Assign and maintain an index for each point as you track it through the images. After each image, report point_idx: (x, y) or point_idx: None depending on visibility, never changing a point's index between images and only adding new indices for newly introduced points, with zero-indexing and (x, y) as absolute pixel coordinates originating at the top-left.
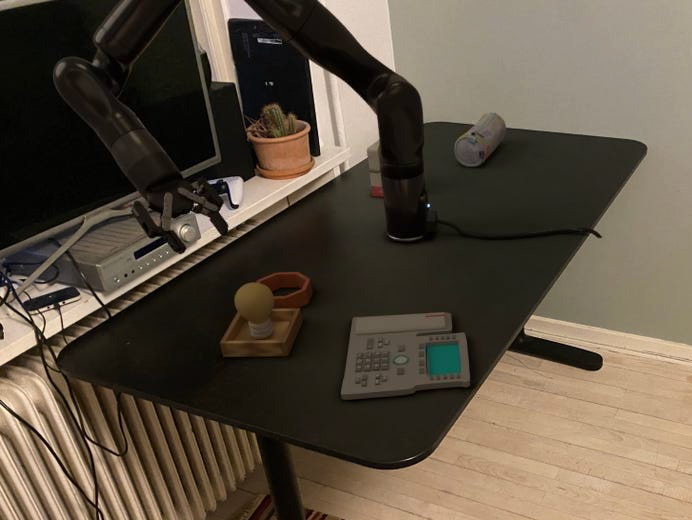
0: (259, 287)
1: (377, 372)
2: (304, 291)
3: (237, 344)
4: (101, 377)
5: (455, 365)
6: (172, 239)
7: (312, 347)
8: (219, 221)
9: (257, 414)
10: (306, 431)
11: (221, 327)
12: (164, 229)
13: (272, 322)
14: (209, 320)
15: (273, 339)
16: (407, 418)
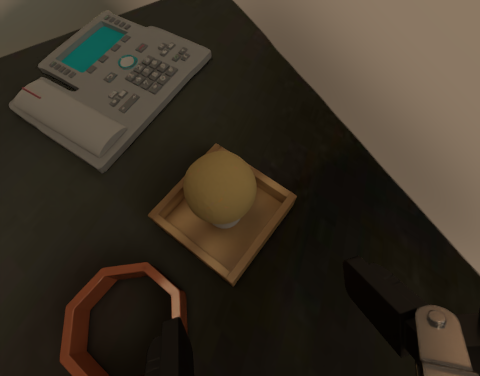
0: (205, 161)
1: (160, 59)
2: (105, 268)
3: (273, 181)
4: (473, 269)
5: (92, 40)
6: (396, 287)
7: (182, 155)
8: (175, 350)
9: (292, 84)
10: (260, 43)
11: (269, 296)
12: (444, 311)
13: (195, 241)
14: (280, 339)
15: None
16: (179, 16)
